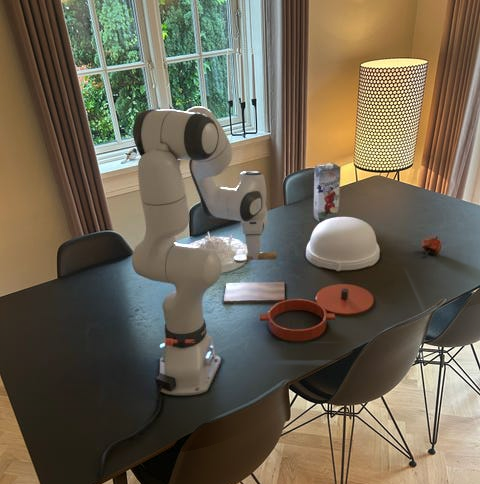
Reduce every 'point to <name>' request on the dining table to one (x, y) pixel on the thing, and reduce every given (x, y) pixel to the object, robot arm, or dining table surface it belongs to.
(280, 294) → the board
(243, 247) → the cake
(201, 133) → the robot arm
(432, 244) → the pomegranate
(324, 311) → the pan
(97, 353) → the dining table surface
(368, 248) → the dome cover
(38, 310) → the dining table surface
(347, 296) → the lid
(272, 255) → the spoon
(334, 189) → the juice carton
